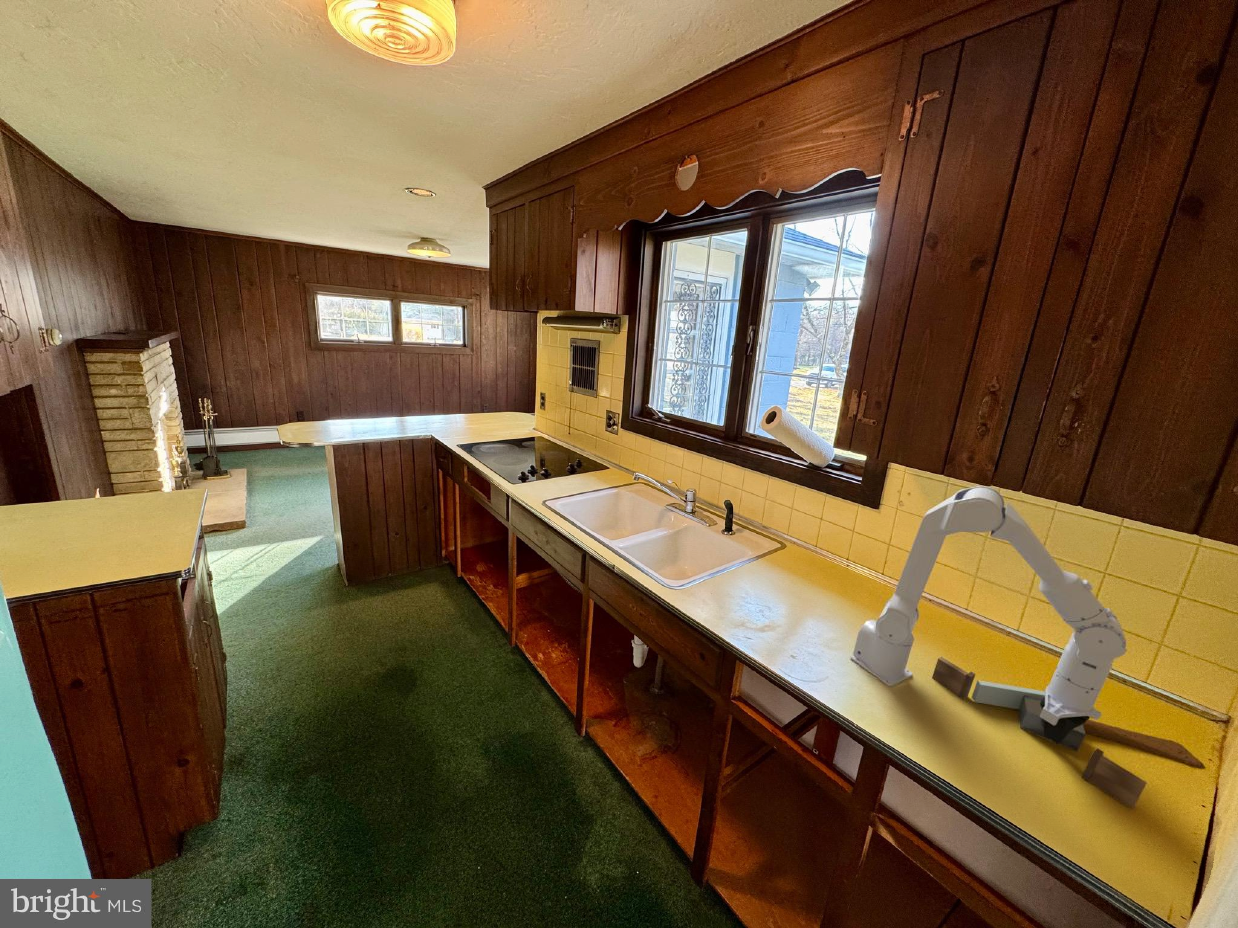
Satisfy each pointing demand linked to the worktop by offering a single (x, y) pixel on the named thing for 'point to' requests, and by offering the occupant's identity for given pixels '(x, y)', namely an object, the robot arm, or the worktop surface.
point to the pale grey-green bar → (1003, 694)
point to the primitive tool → (1143, 742)
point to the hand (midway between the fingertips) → (1051, 738)
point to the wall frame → (1098, 767)
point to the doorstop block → (1035, 724)
